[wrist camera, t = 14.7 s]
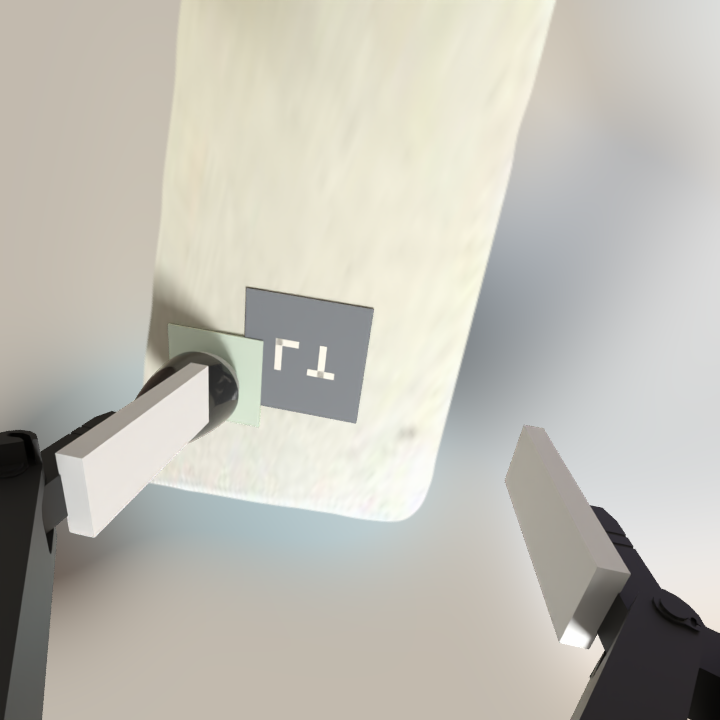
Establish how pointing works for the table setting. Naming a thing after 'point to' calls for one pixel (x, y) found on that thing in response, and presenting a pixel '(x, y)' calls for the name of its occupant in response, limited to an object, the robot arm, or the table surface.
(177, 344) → the mat
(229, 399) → the pump dispenser
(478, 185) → the table surface
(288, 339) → the tile
